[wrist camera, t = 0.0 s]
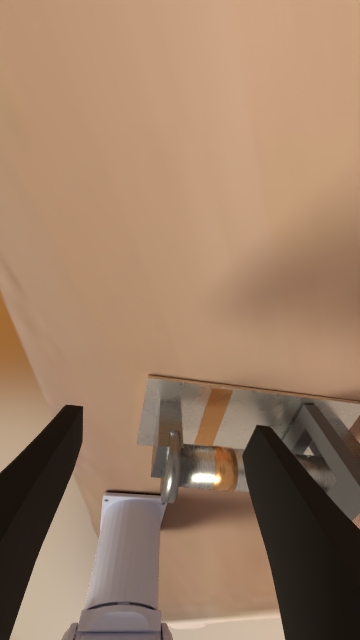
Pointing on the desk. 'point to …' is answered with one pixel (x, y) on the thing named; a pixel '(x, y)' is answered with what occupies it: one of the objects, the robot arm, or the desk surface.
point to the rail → (227, 431)
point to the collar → (328, 456)
